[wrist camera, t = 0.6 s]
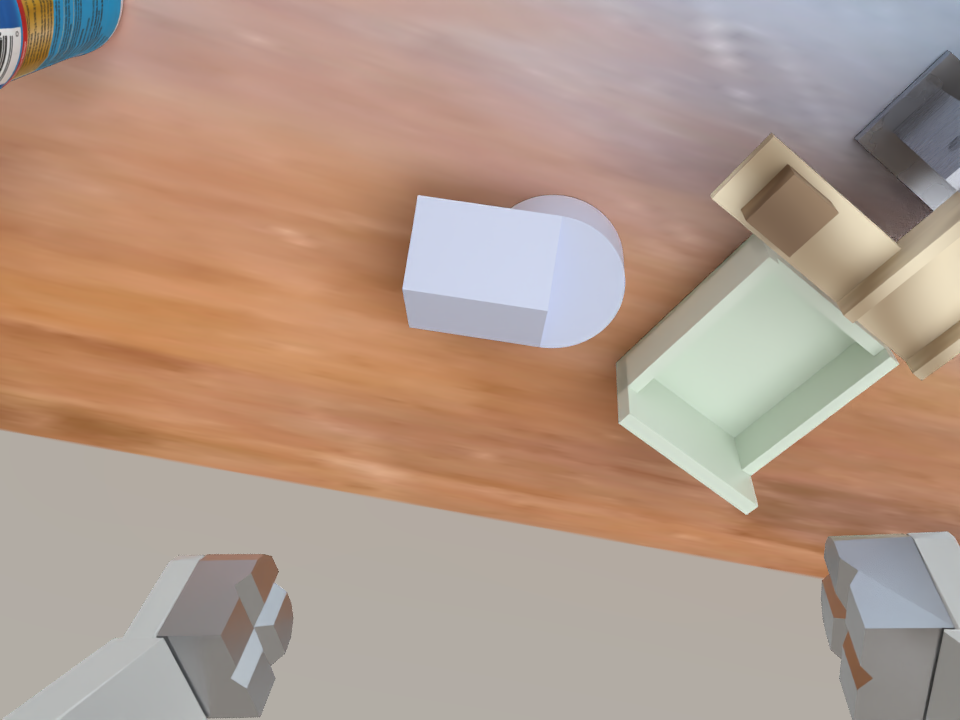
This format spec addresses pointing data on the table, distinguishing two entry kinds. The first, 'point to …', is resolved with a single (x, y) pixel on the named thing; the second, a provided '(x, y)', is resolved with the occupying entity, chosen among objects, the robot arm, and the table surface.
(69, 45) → the beverage bottle
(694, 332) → the tray
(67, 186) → the table surface
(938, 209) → the lever
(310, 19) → the table surface
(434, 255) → the wedge on round base
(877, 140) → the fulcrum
